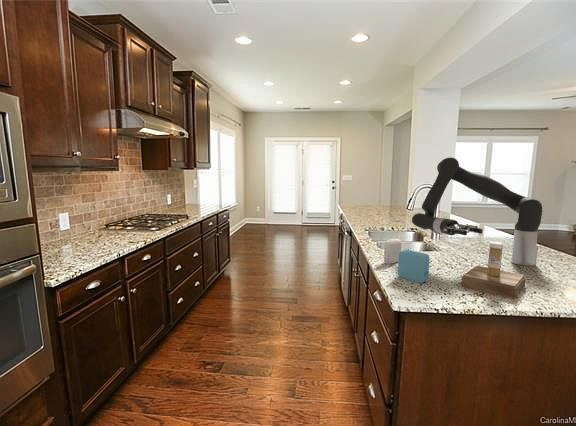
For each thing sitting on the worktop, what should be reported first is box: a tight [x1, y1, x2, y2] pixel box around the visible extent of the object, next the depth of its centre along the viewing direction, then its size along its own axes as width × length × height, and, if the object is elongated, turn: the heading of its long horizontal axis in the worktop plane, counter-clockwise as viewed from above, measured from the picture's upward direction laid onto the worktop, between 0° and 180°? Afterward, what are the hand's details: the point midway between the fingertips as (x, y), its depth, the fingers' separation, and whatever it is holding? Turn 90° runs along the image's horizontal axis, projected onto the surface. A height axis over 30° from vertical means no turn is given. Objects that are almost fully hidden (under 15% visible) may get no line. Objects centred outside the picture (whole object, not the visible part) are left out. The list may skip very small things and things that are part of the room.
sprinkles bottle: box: [487, 241, 504, 276], centre depth 125 cm, size 5×5×13 cm
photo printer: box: [383, 238, 403, 265], centre depth 159 cm, size 10×4×12 cm, turn 123°
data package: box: [397, 249, 431, 284], centre depth 135 cm, size 12×4×12 cm, turn 40°
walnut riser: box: [460, 265, 526, 301], centre depth 126 cm, size 18×18×5 cm
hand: (474, 232), depth 134 cm, fingers open, 8 cm apart
